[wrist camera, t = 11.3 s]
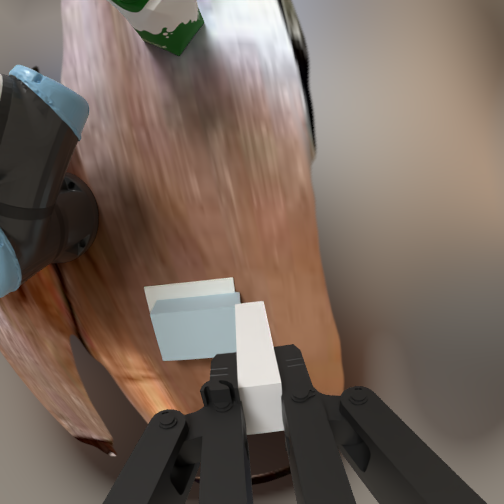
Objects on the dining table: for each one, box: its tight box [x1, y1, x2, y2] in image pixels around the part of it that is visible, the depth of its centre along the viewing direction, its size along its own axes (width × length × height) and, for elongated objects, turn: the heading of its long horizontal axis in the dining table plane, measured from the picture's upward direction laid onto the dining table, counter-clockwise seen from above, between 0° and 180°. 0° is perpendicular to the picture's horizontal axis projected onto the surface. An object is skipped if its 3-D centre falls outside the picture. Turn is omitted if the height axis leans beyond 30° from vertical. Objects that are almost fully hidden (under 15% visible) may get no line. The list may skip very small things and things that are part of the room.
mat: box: [144, 277, 235, 313], centre depth 52 cm, size 15×14×1 cm
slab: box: [150, 292, 241, 361], centre depth 50 cm, size 5×9×14 cm
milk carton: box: [107, 0, 204, 56], centre depth 28 cm, size 9×9×20 cm
